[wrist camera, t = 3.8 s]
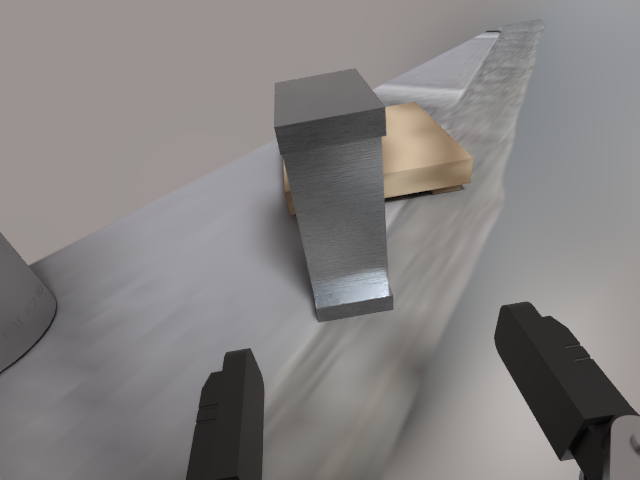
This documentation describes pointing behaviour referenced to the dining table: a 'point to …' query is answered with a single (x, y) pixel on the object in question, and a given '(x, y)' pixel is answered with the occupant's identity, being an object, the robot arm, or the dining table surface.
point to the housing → (337, 188)
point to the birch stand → (416, 156)
